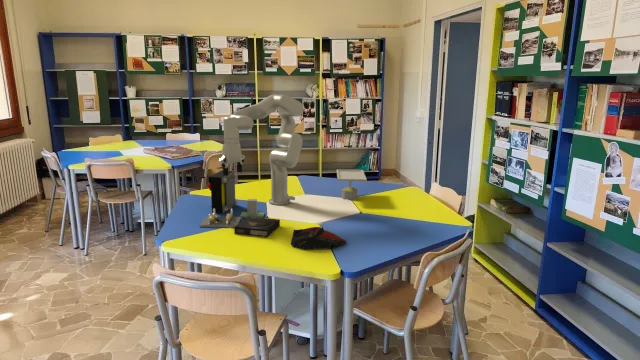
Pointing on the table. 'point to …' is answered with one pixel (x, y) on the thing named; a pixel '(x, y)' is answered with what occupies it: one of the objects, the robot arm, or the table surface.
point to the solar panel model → (350, 176)
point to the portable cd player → (257, 226)
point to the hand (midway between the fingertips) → (232, 173)
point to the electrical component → (222, 191)
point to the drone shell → (315, 239)
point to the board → (245, 215)
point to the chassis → (220, 220)
